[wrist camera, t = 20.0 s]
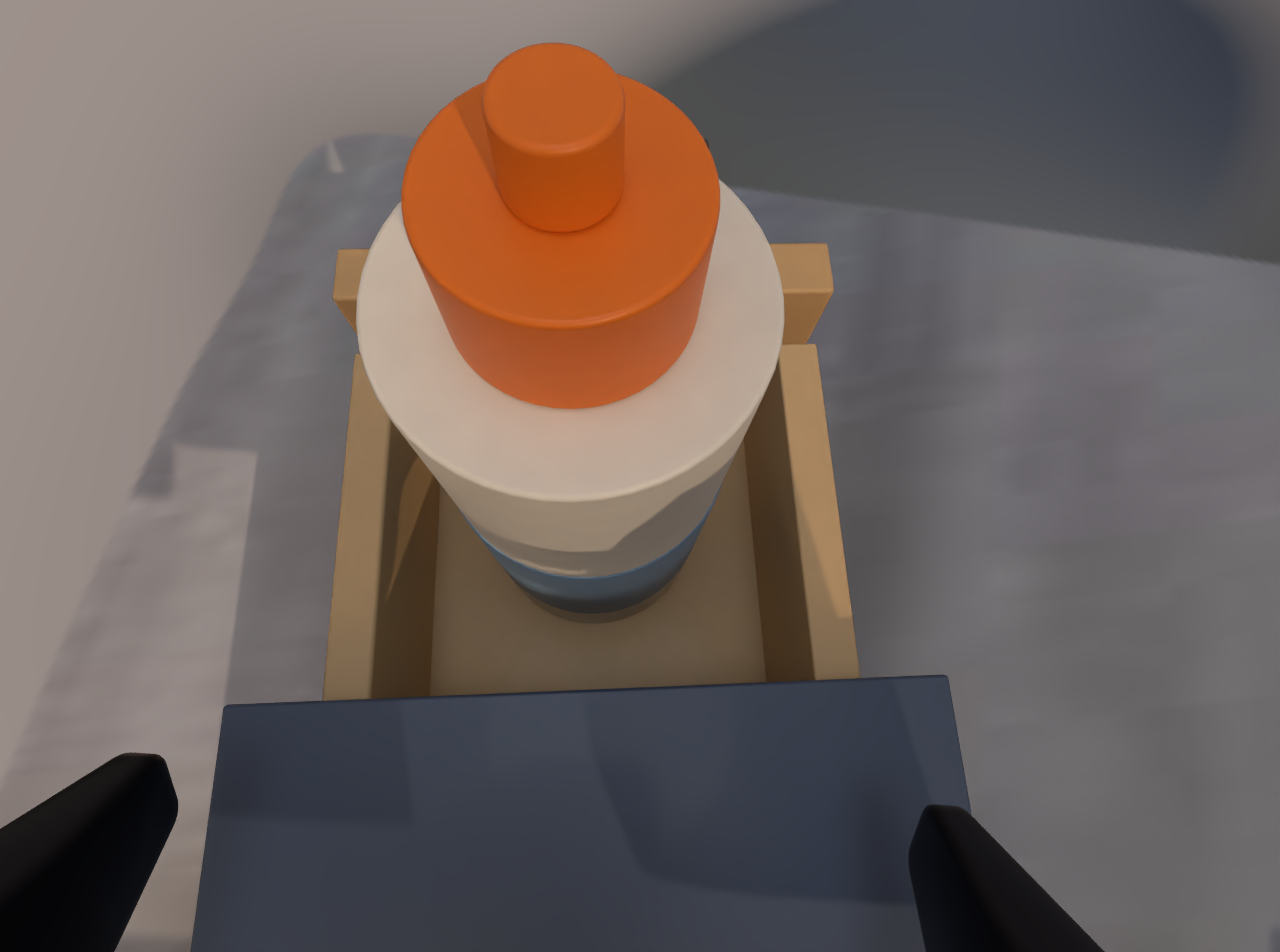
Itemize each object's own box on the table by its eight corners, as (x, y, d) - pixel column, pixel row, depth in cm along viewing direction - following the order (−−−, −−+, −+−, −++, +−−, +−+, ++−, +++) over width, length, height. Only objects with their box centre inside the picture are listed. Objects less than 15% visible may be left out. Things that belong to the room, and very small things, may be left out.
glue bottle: (721, 577, 16) (998, 239, 5) (542, 657, 16) (327, 503, 4) (643, 415, 18) (704, -183, 6) (473, 482, 17) (151, -41, 5)
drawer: (416, 223, 20) (354, 73, 16) (759, 220, 21) (803, 73, 16) (367, 934, 15) (249, 1043, 10) (837, 907, 15) (940, 999, 10)
